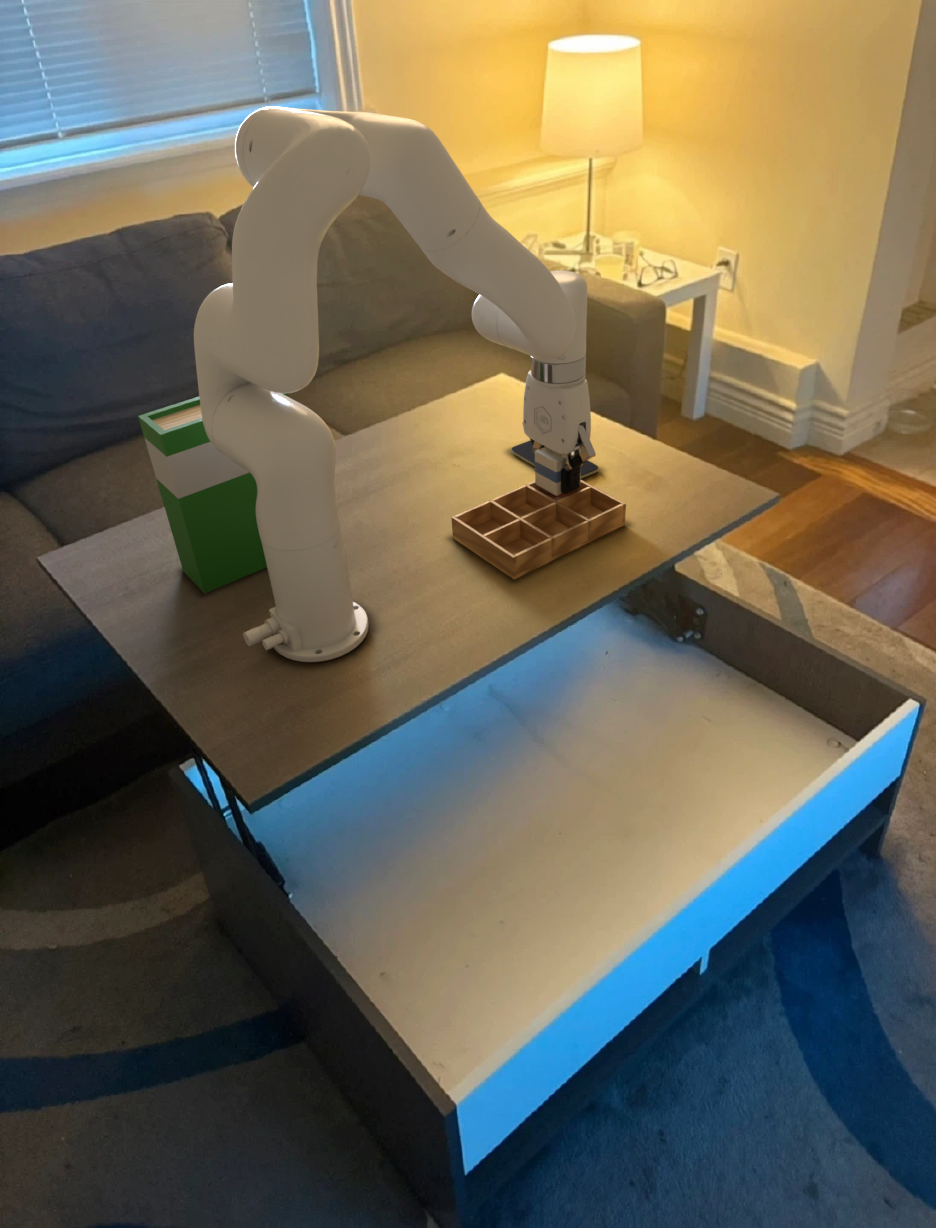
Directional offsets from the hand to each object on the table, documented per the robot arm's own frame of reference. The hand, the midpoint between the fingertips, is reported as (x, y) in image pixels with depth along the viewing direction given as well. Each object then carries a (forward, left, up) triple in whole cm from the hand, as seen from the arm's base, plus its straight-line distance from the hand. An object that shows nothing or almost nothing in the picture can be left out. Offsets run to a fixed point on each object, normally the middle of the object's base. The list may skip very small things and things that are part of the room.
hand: (557, 482), depth 141 cm
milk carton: (0, 0, 0) cm, 0 cm away
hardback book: (-42, +19, -4) cm, 46 cm away
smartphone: (+9, +11, -4) cm, 15 cm away
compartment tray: (-7, -3, -4) cm, 8 cm away
